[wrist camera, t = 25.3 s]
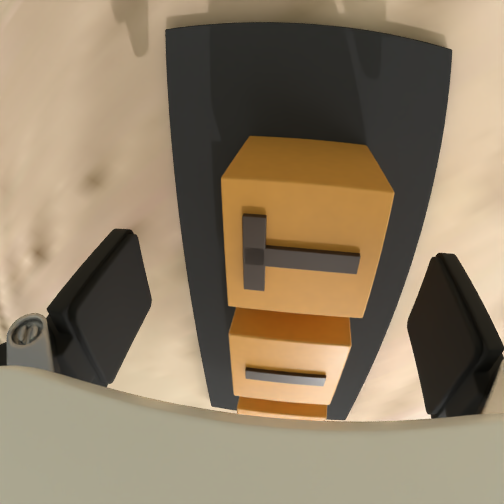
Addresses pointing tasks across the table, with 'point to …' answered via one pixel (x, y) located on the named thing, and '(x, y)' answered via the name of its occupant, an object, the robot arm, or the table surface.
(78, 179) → the table surface
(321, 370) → the letter I
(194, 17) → the table surface
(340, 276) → the letter T
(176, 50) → the word mat
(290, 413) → the letter L
